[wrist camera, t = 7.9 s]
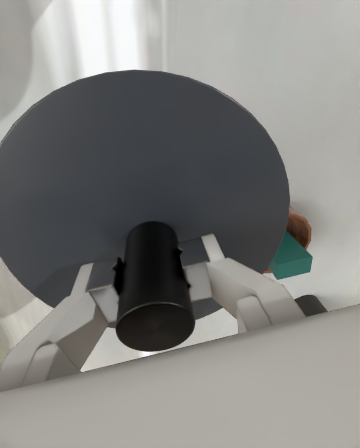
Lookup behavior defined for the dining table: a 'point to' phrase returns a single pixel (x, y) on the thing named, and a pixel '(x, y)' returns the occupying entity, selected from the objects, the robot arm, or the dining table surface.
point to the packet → (290, 259)
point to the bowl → (297, 230)
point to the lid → (138, 193)
